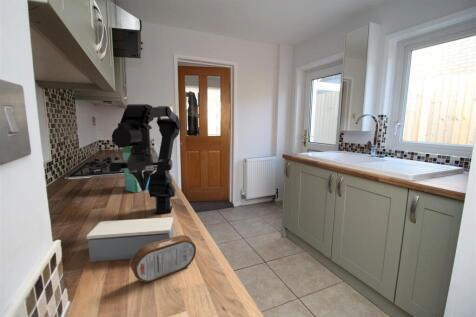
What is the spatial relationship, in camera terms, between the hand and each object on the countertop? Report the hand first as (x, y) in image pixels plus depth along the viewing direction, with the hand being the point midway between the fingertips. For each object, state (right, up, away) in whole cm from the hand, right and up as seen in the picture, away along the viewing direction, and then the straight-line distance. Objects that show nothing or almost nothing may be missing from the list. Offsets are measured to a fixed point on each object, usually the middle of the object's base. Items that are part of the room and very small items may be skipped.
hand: (143, 190), depth 77 cm
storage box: (+2, -15, -11) cm, 19 cm away
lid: (+2, -9, -12) cm, 15 cm away
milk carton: (-21, -6, +44) cm, 49 cm away
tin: (+14, -17, -21) cm, 31 cm away
